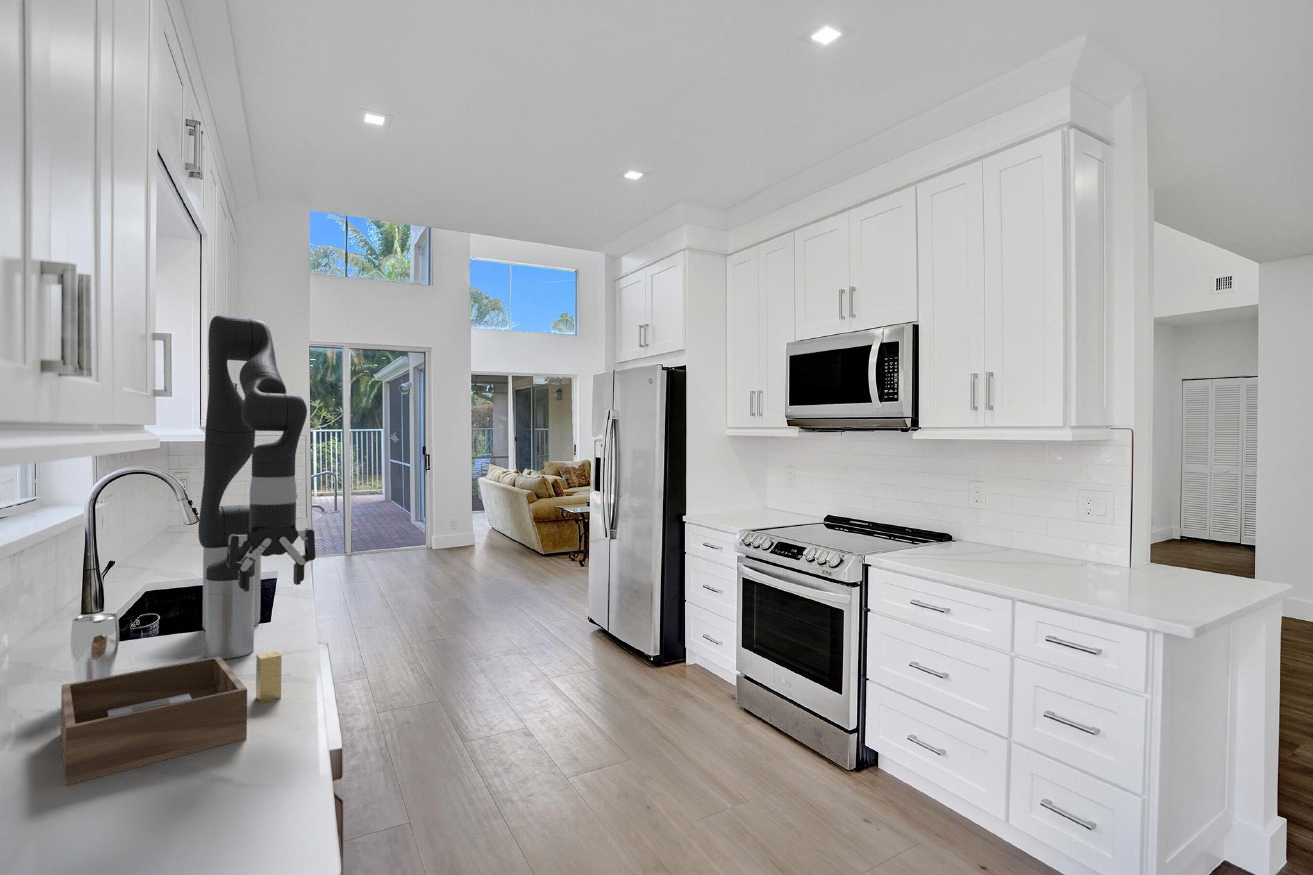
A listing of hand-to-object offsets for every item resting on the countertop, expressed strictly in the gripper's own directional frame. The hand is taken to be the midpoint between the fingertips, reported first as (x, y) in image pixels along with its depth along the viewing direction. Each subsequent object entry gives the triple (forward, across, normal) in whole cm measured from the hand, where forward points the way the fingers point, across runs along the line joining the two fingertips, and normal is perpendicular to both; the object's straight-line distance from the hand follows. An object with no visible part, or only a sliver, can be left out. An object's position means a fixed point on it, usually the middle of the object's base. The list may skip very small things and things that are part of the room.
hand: (271, 587), depth 125 cm
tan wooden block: (+21, 0, -1) cm, 21 cm away
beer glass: (+22, +24, -22) cm, 39 cm away
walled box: (+21, +18, +5) cm, 28 cm away
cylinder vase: (+22, -5, -60) cm, 64 cm away
